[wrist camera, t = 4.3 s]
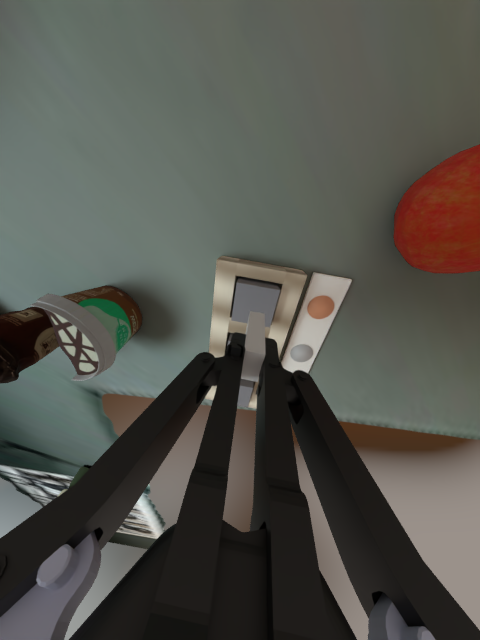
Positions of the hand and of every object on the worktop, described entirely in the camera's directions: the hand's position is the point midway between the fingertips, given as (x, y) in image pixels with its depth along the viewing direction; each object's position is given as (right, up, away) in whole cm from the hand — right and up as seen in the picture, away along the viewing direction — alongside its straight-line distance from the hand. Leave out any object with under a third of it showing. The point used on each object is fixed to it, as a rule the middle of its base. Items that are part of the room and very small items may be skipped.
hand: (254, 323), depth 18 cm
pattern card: (+9, -5, +11) cm, 15 cm away
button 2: (+1, +4, +6) cm, 7 cm away
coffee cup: (-32, +1, +13) cm, 35 cm away
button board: (-1, -3, +11) cm, 12 cm away
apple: (+19, +12, +1) cm, 23 cm away
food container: (-20, +2, +12) cm, 23 cm away
